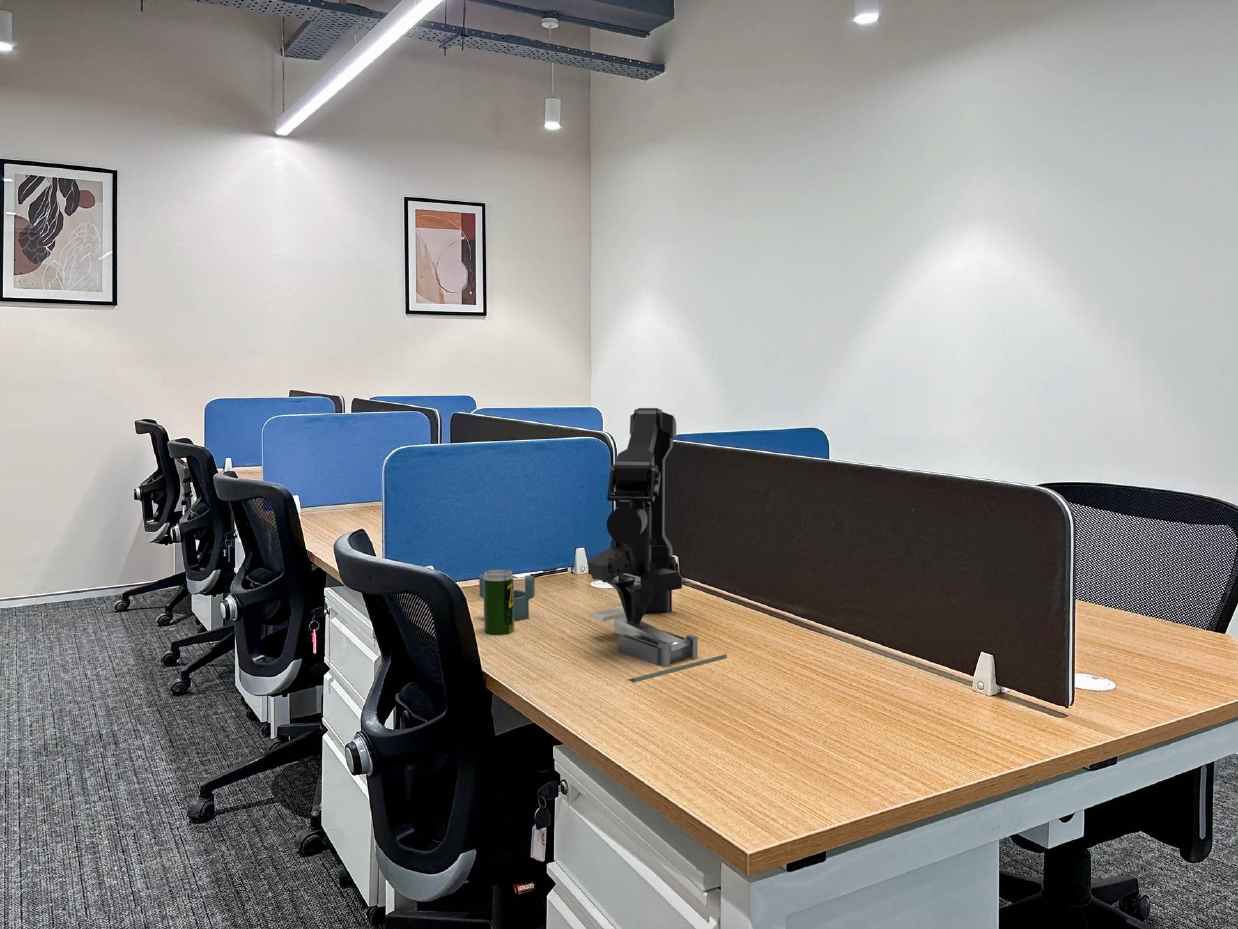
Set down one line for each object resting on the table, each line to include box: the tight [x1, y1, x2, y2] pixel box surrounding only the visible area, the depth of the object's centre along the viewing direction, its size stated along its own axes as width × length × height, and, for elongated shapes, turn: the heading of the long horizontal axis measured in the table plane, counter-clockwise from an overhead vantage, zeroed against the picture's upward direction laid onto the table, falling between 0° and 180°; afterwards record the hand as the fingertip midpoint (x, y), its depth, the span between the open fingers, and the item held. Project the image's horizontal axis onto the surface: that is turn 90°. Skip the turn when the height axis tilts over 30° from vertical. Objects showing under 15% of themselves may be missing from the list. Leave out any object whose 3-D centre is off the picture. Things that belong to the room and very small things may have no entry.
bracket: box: [478, 573, 536, 623], centre depth 181 cm, size 9×9×9 cm
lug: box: [588, 605, 641, 637], centre depth 165 cm, size 8×4×4 cm, turn 128°
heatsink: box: [617, 629, 698, 668], centre depth 154 cm, size 8×11×4 cm
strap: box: [617, 617, 690, 652], centre depth 155 cm, size 4×15×1 cm, turn 38°
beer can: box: [483, 569, 515, 636], centre depth 168 cm, size 5×5×12 cm
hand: (633, 622), depth 159 cm, fingers closed, pressing on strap
